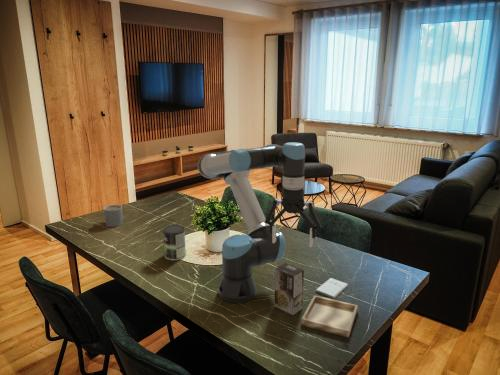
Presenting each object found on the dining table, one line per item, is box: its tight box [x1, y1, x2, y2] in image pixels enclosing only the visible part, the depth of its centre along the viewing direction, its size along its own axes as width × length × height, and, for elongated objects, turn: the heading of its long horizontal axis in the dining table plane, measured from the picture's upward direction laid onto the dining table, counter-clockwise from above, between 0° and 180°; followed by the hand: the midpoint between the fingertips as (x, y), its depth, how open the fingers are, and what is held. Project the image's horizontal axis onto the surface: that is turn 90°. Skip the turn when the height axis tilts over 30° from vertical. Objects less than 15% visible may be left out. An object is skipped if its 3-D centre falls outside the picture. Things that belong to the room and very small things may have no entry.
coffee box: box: [274, 262, 305, 316], centre depth 146 cm, size 9×6×16 cm
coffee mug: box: [103, 204, 124, 228], centre depth 228 cm, size 13×10×10 cm
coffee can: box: [162, 224, 187, 261], centre depth 187 cm, size 10×10×14 cm
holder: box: [300, 295, 359, 339], centre depth 141 cm, size 17×17×2 cm
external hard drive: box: [315, 277, 349, 300], centre depth 160 cm, size 2×8×12 cm
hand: (292, 243), depth 142 cm, fingers open, 13 cm apart
